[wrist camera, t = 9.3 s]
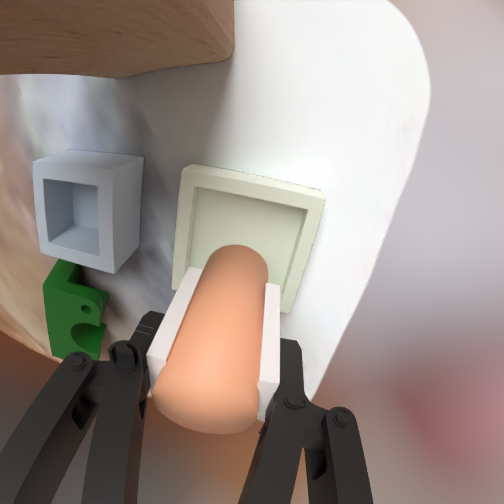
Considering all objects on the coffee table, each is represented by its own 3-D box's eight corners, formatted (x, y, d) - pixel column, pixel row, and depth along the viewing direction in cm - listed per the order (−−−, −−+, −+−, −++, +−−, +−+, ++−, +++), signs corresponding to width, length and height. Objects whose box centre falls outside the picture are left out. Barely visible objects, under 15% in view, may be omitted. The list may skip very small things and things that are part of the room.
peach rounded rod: (203, 292, 19) (156, 421, 10) (208, 238, 17) (146, 366, 8) (261, 303, 19) (248, 440, 10) (274, 251, 17) (268, 392, 8)
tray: (179, 273, 26) (171, 289, 23) (191, 163, 21) (181, 169, 19) (288, 296, 26) (289, 313, 24) (320, 189, 21) (325, 199, 19)
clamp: (112, 306, 34) (99, 372, 29) (71, 294, 32) (55, 358, 27) (113, 259, 25) (89, 349, 20) (59, 243, 23) (28, 329, 18)
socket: (71, 229, 24) (40, 252, 20) (69, 149, 21) (32, 161, 16) (139, 245, 25) (114, 274, 20) (144, 156, 21) (113, 169, 16)
